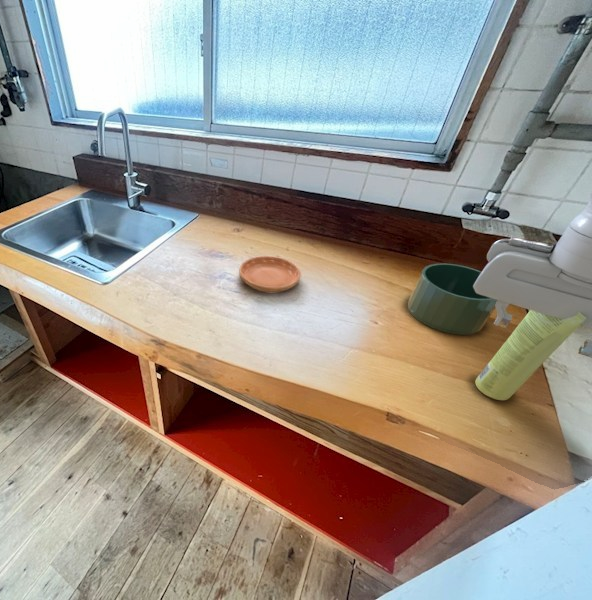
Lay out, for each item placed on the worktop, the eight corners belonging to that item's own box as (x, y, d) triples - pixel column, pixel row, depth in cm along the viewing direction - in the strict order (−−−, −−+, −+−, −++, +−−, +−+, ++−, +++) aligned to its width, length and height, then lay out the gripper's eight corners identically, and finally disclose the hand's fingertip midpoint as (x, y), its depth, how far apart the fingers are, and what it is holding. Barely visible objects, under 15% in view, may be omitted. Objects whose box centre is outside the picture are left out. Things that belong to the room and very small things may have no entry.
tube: (520, 396, 55) (603, 305, 43) (504, 409, 53) (587, 317, 41) (482, 373, 59) (549, 285, 47) (467, 385, 57) (532, 295, 45)
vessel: (489, 312, 72) (511, 279, 67) (473, 344, 64) (497, 309, 59) (419, 288, 81) (433, 257, 75) (398, 314, 73) (412, 281, 68)
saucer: (311, 281, 85) (313, 271, 83) (270, 304, 78) (272, 294, 76) (266, 259, 96) (267, 250, 94) (226, 277, 88) (226, 268, 86)
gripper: (493, 240, 44) (451, 318, 52) (752, 297, 32) (646, 388, 40) (502, 226, 48) (461, 302, 56) (739, 273, 35) (643, 361, 43)
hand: (540, 338), depth 48 cm, fingers open, 8 cm apart
